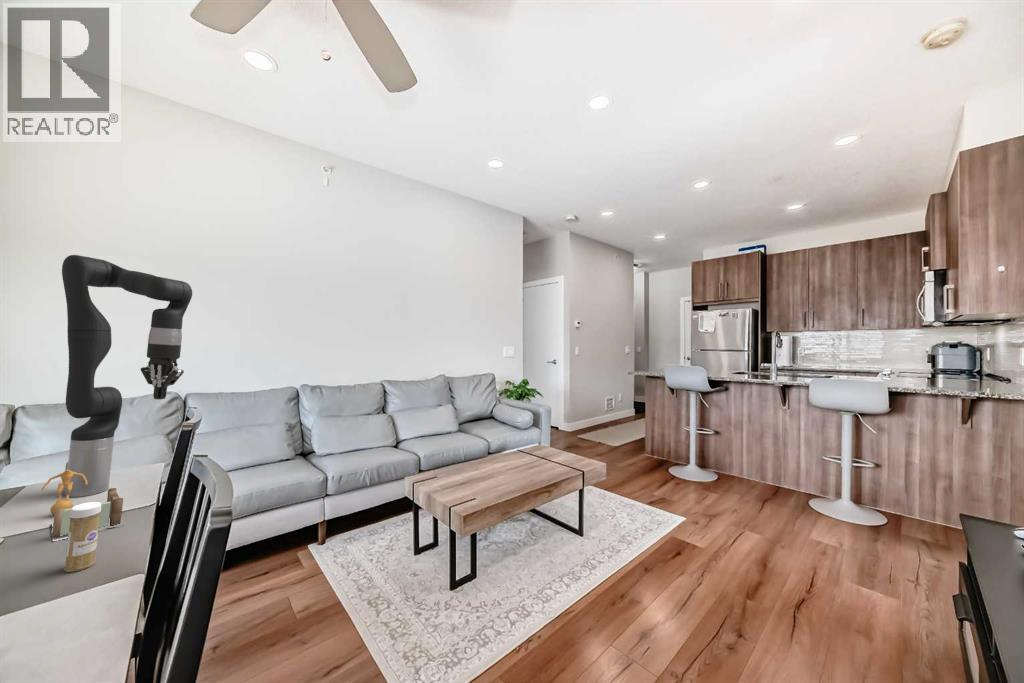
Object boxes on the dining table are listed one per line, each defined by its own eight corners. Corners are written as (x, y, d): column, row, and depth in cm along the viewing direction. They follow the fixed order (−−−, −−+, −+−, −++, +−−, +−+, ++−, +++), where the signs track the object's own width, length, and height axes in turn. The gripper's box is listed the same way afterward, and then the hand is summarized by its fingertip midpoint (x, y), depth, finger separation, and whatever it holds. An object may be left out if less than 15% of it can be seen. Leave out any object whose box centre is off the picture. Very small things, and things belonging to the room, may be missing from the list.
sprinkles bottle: (83, 572, 79) (89, 509, 80) (56, 573, 78) (63, 510, 79) (101, 560, 84) (107, 500, 84) (76, 561, 83) (83, 501, 83)
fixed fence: (104, 513, 104) (106, 489, 104) (114, 510, 106) (117, 487, 106) (110, 527, 97) (112, 501, 97) (121, 524, 99) (123, 499, 99)
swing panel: (108, 523, 98) (110, 500, 98) (108, 526, 97) (110, 502, 97) (52, 535, 91) (54, 509, 91) (51, 537, 90) (54, 511, 90)
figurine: (35, 521, 98) (40, 476, 98) (41, 513, 102) (46, 469, 103) (82, 513, 103) (87, 470, 104) (86, 506, 108) (90, 465, 108)
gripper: (195, 344, 117) (190, 399, 116) (159, 342, 118) (153, 395, 118) (171, 344, 109) (165, 402, 109) (132, 341, 111) (126, 398, 110)
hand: (159, 398), depth 113 cm, fingers closed
